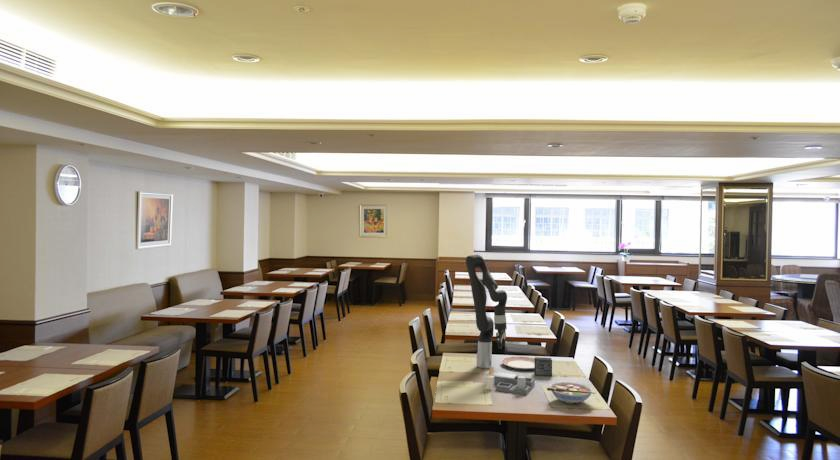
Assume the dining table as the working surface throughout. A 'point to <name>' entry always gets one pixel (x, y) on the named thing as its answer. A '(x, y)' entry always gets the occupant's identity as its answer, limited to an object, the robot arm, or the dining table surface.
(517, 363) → the dinner plate
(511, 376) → the lid
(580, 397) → the ramen bowl
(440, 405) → the dining table surface
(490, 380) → the white jaw block
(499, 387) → the housing
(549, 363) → the small box
